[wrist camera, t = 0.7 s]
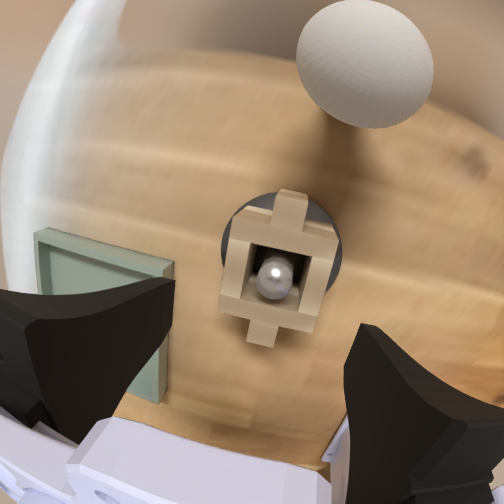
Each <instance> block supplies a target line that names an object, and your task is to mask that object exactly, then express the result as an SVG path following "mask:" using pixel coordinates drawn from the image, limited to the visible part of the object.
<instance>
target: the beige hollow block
mask: <svg viewBox="0 0 504 504" xmlns="http://www.w3.org/2000/svg"><path fill="white" fill-rule="evenodd" d="M307 207H308V196H307V194H306V193H301V192H297V191H292V190H287V189H283V188H282V189H281V190H280V191H279V192H278V193H277V195H276V198H275V203H274V208H273V211H272V210H268V209H263V208H258V207H253V206H246V207H245V208H244V209H243V210H241V211H240V212H239V213H237V214H236V215H235V216H233V218H232V224H231V230H230V236H229V242H228V248H227V254H226V260H225V267H224V273H223V279H222V285H221V292H220V298H219V305H218V312H222V313H225V314H229V315H233V316H237V317H242V318H246V319H250V325H249V329H248V334H247V339H246V342H250V343H254V344H259V345H263V346H267V347H272V348H273V346H274V342H275V339H276V335H277V331H278V327H279V326H280V327H285V328H289V329H294V330H298V331H303V332H308V333H312V332H313V329H314V326H315V323H316V319H317V316H318V313H319V310H320V307H321V303H322V300H323V297H324V293H325V290H326V286H327V283H328V279H329V276H330V272H331V269H332V265H333V261H334V258H335V254H336V250H337V246H338V243H339V239H338V237H337V235H336V233H335V231H334V228H333V226H332V224H330V223H326V222H322V221H318V220H313V219H309V218H305V216H306V211H307ZM258 244H259V245H263V246H268V247H272V248H277V249H281V250H285V251H290V252H294V253H299V254H303V255H306V258H305V262H304V266H303V270H302V274H301V278H300V282H296V281H292V286H291V290H290V291H289V293H288V294H287V295H286V296H285V297H283V298H280V299H269V298H266V297H264V296H263V295H262V294H261V293H260V292H259V291H258V289H257V286H256V278H257V275H258V273H257V272H253V267H254V262H255V257H256V252H257V247H258Z"/></svg>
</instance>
